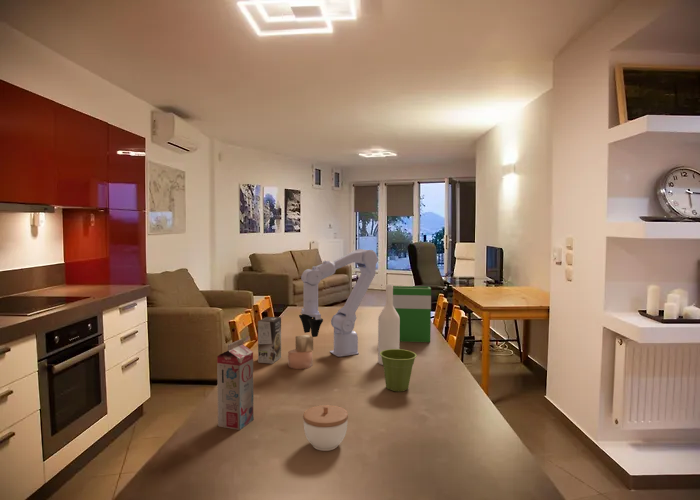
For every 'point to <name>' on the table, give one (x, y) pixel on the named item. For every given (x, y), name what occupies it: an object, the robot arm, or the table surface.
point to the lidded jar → (325, 426)
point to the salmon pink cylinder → (299, 359)
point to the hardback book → (413, 312)
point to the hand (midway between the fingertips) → (310, 334)
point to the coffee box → (269, 339)
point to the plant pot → (397, 368)
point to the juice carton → (235, 386)
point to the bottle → (388, 325)
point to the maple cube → (304, 343)
